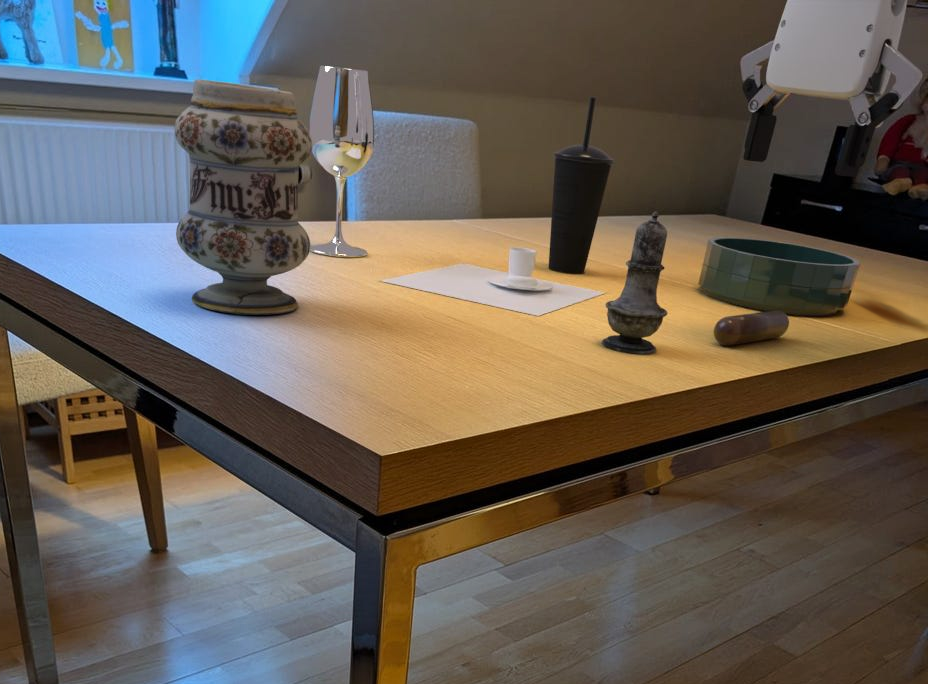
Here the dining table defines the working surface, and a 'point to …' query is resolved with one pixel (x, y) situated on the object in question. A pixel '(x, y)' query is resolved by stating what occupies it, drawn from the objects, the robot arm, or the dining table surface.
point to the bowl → (777, 276)
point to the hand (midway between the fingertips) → (798, 168)
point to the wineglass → (341, 138)
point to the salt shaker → (639, 293)
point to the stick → (750, 327)
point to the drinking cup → (576, 201)
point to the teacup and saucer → (499, 285)
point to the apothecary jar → (243, 193)
